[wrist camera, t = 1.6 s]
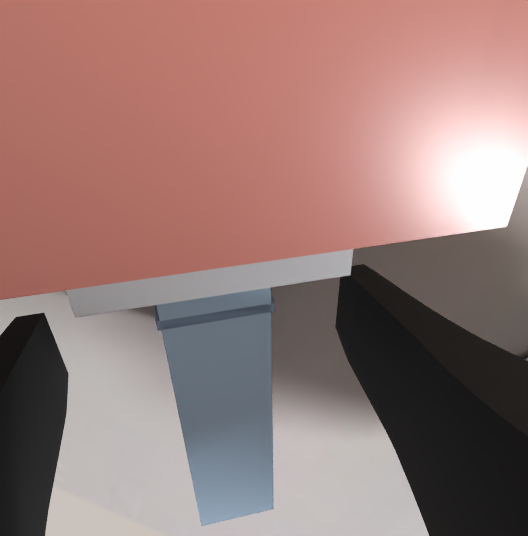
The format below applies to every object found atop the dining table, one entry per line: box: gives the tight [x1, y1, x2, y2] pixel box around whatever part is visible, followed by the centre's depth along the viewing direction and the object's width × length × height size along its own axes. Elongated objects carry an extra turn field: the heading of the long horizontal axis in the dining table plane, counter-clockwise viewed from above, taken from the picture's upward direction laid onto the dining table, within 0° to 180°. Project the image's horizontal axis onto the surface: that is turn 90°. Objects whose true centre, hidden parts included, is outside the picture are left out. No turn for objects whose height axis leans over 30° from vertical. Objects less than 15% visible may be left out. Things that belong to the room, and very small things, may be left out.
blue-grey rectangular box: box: [155, 288, 275, 526], centre depth 8 cm, size 13×2×6 cm, turn 1°
